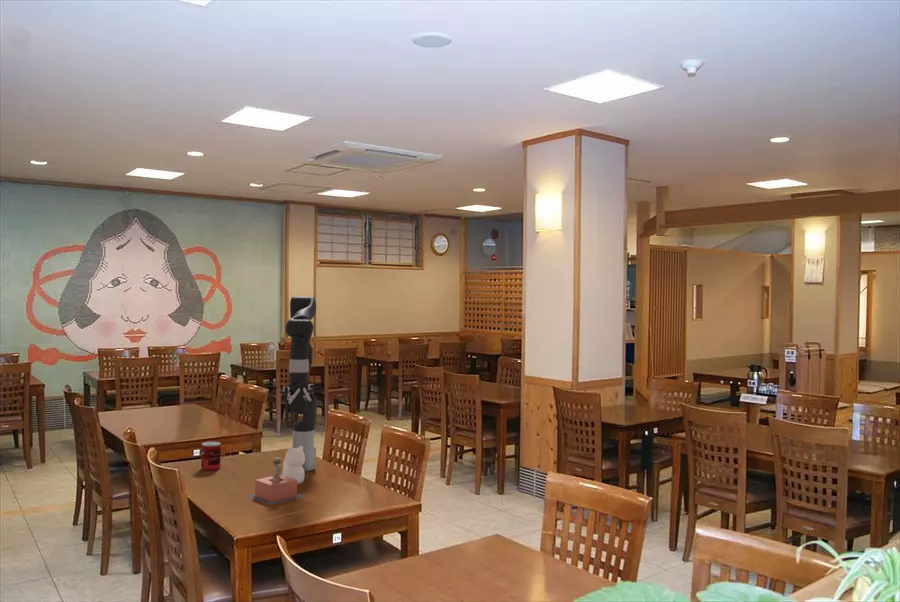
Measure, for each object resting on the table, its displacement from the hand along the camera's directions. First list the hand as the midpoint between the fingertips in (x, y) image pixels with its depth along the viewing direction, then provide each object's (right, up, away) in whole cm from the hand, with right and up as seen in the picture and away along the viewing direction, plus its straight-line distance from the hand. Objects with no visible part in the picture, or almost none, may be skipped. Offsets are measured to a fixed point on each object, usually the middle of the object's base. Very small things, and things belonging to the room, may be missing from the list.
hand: (298, 412), depth 272 cm
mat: (-6, -30, -12) cm, 33 cm away
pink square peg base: (-6, -30, -12) cm, 32 cm away
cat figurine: (-4, -30, +9) cm, 32 cm away
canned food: (-44, -29, +29) cm, 61 cm away
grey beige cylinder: (-6, -30, -11) cm, 32 cm away
